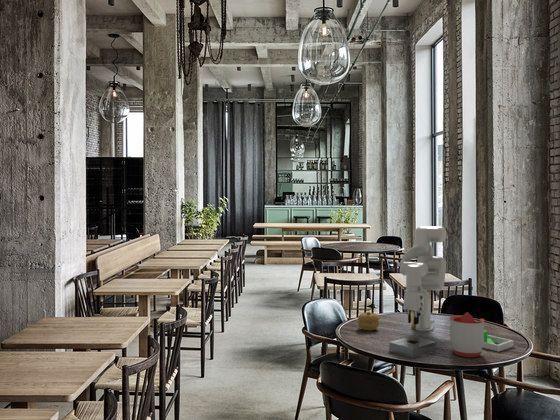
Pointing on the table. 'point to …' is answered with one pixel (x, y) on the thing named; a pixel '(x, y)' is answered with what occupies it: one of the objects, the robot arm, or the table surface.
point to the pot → (368, 321)
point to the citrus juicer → (466, 335)
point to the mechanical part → (487, 338)
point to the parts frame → (501, 342)
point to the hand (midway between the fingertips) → (413, 323)
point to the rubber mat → (409, 336)
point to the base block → (412, 346)
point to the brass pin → (412, 320)
